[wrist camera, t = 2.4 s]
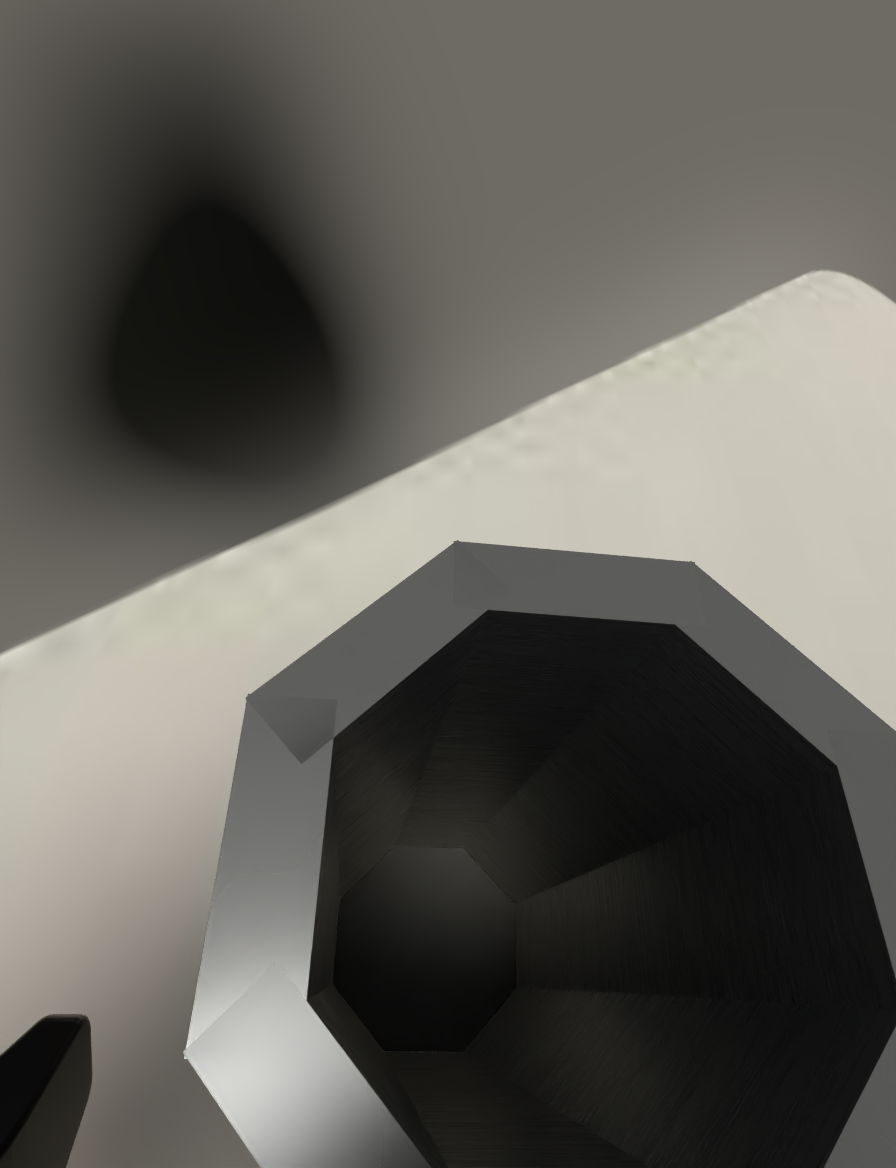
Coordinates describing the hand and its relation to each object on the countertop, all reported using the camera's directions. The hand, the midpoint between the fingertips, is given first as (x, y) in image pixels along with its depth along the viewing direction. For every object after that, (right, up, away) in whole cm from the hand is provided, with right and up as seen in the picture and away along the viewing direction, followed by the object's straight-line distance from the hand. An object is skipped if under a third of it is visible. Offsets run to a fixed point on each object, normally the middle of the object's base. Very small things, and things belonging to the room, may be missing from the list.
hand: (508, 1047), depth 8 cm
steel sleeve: (-1, -3, +8) cm, 9 cm away
